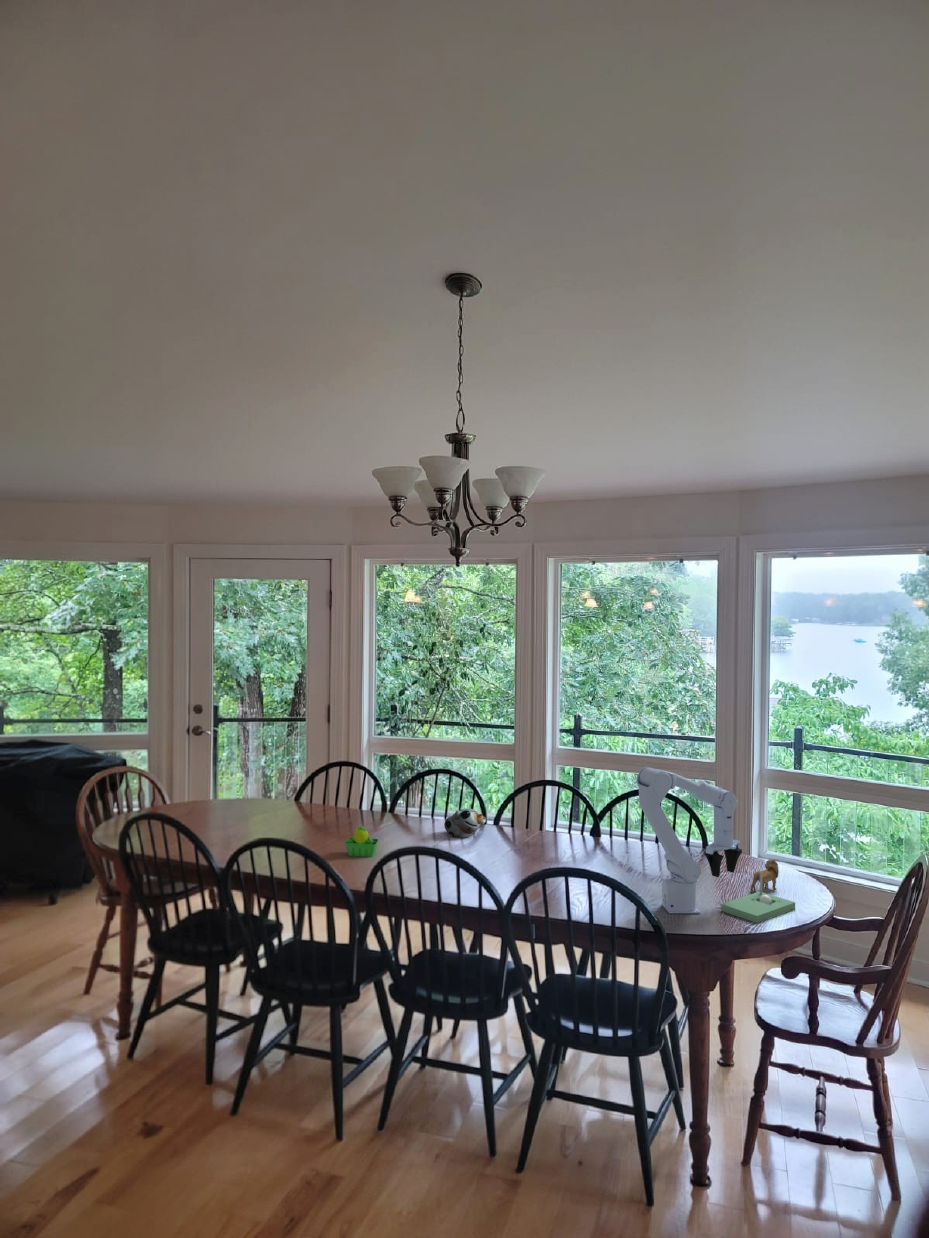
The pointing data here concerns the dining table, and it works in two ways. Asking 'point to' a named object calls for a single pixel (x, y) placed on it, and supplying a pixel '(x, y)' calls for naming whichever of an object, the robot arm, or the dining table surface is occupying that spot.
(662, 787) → the robot arm
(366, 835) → the fruit basket
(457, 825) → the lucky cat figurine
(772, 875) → the lion figurine
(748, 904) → the putting mat
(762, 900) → the golf ball
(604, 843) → the dining table surface
